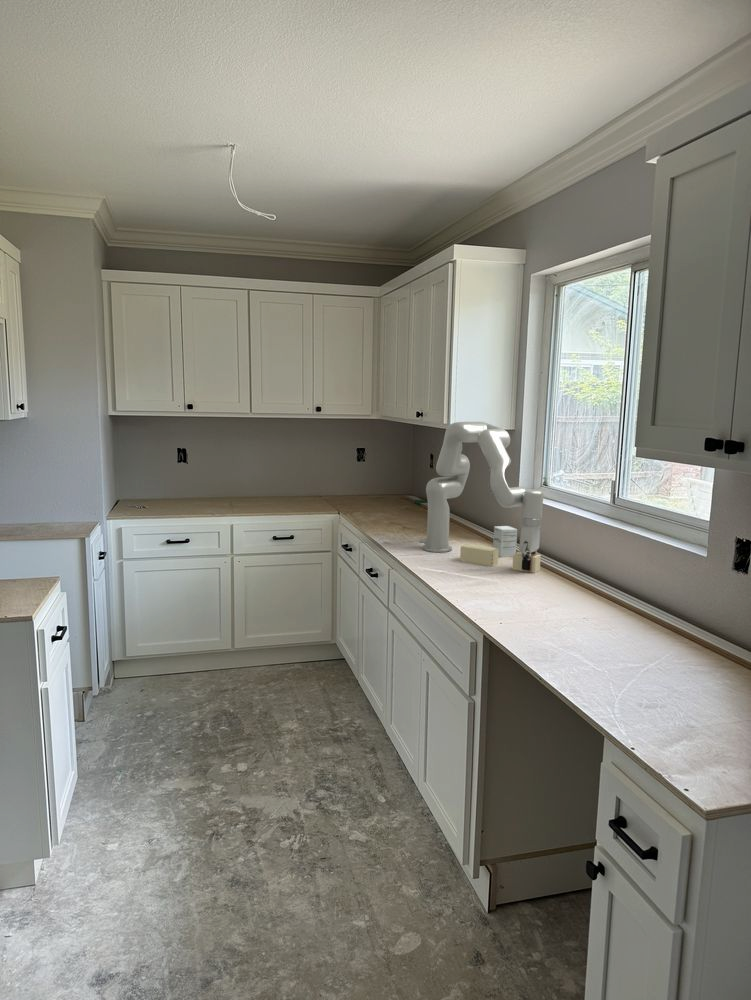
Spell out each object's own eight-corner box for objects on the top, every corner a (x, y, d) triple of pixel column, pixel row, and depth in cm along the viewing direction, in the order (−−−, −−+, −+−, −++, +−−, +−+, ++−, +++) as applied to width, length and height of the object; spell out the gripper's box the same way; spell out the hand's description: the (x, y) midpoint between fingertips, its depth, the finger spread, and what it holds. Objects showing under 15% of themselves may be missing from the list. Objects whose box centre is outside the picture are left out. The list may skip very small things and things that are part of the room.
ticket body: (459, 561, 273) (460, 546, 272) (465, 558, 277) (466, 543, 276) (492, 566, 265) (493, 551, 264) (497, 564, 270) (498, 548, 269)
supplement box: (492, 555, 287) (493, 526, 285) (507, 554, 289) (509, 525, 287) (500, 559, 280) (501, 529, 278) (516, 558, 282) (517, 528, 280)
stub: (512, 569, 261) (513, 554, 260) (517, 566, 265) (518, 551, 264) (534, 573, 256) (535, 557, 255) (539, 570, 261) (540, 554, 260)
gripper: (530, 517, 266) (527, 562, 269) (513, 524, 252) (511, 571, 255) (548, 520, 262) (545, 565, 265) (533, 526, 248) (530, 574, 251)
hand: (528, 567), depth 260 cm, fingers closed on stub, 5 cm apart
